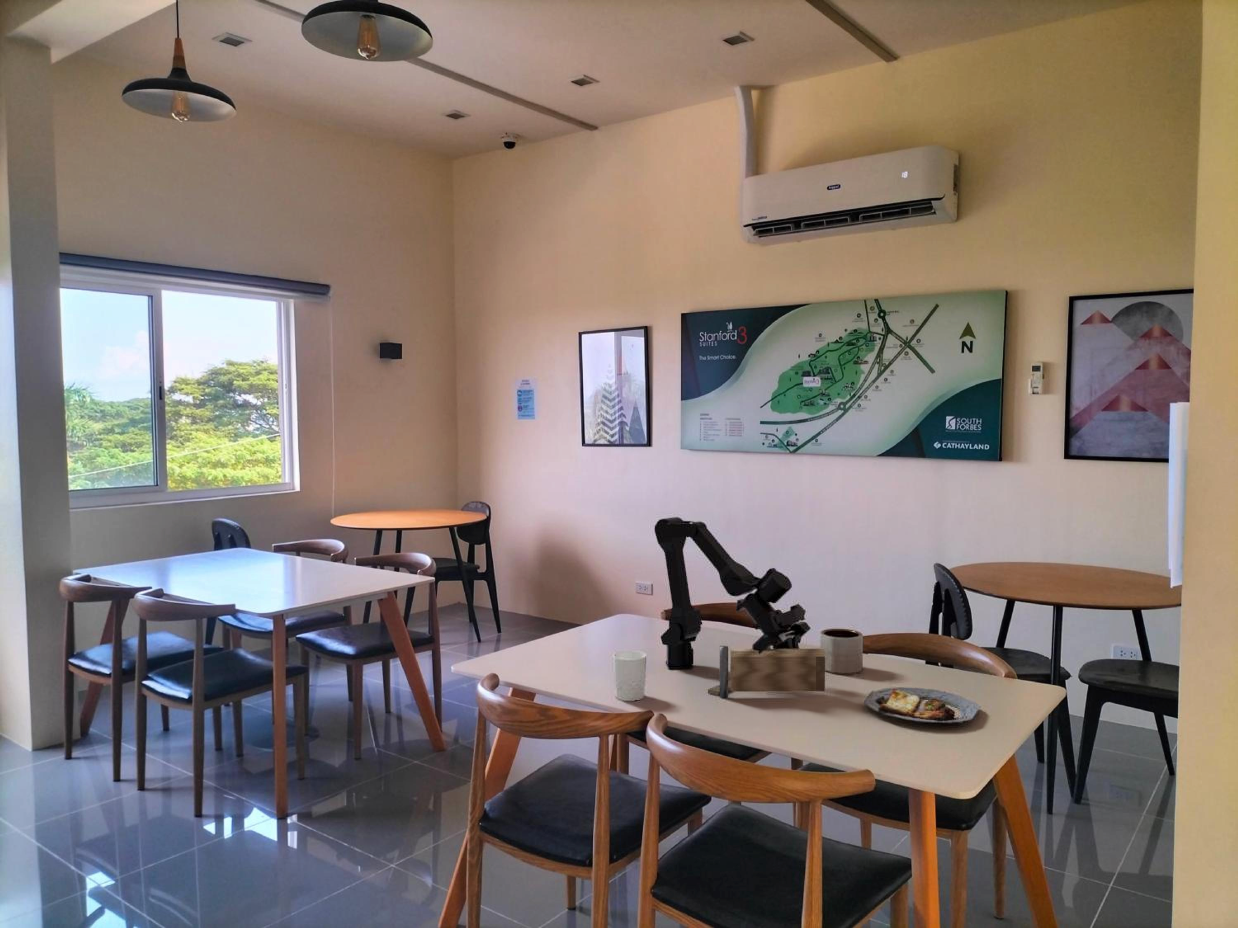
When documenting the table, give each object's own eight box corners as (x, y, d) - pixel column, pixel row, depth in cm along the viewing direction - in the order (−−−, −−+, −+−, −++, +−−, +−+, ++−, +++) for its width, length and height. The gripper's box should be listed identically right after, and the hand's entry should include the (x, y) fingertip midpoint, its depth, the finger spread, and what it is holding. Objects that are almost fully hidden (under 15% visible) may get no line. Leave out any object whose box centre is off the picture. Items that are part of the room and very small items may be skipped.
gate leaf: (731, 691, 202) (731, 650, 201) (730, 689, 203) (730, 648, 203) (824, 691, 202) (825, 650, 201) (823, 688, 204) (823, 648, 203)
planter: (816, 672, 223) (817, 635, 222) (823, 661, 233) (823, 626, 232) (860, 677, 218) (860, 639, 218) (864, 665, 229) (865, 630, 228)
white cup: (651, 694, 205) (651, 652, 204) (638, 704, 198) (638, 661, 197) (621, 690, 208) (621, 649, 208) (607, 699, 201) (607, 657, 201)
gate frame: (725, 698, 201) (725, 648, 201) (705, 694, 205) (705, 644, 204) (782, 674, 220) (782, 628, 220) (763, 670, 224) (763, 625, 224)
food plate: (965, 738, 175) (965, 721, 175) (852, 719, 188) (852, 703, 188) (986, 707, 196) (986, 692, 196) (883, 692, 209) (883, 677, 209)
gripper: (763, 600, 200) (805, 656, 193) (803, 588, 214) (844, 640, 207) (734, 628, 205) (774, 683, 199) (775, 615, 219) (814, 666, 213)
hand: (803, 667), depth 204 cm, fingers closed
